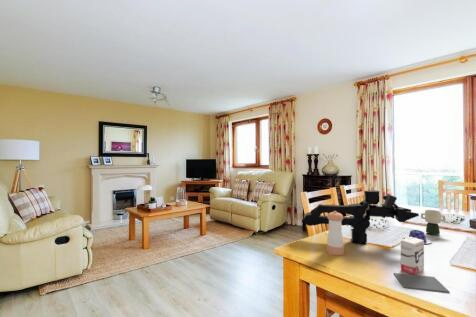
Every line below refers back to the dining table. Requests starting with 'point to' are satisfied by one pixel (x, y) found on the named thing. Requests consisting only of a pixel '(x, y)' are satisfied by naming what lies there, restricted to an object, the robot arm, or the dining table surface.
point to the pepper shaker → (335, 234)
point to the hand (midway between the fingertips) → (414, 212)
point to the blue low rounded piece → (419, 235)
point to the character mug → (432, 221)
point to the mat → (420, 282)
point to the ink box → (412, 255)
